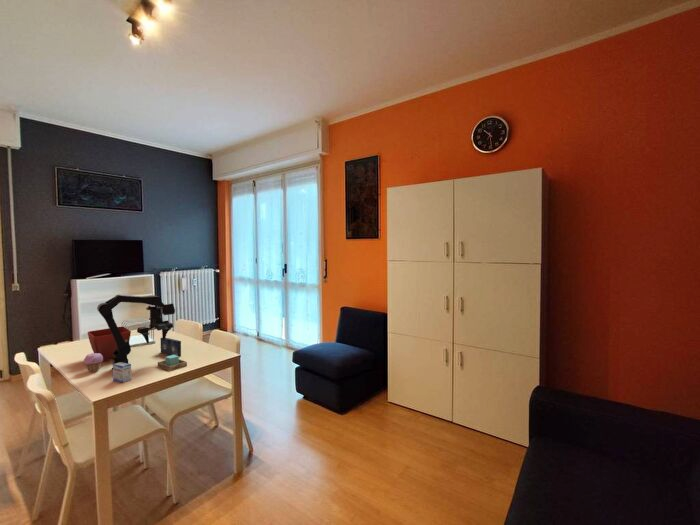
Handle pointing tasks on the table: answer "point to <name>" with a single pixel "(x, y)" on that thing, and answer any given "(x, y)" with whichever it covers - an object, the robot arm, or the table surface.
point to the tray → (164, 366)
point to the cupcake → (93, 361)
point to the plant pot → (106, 341)
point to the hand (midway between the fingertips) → (156, 341)
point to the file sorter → (140, 338)
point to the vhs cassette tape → (170, 346)
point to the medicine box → (121, 372)
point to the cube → (172, 360)
